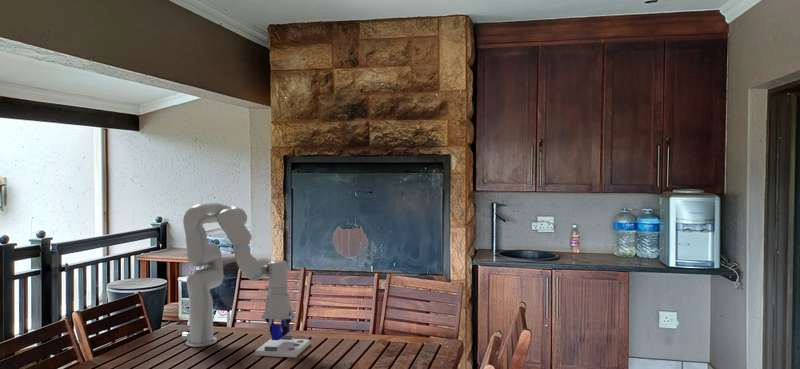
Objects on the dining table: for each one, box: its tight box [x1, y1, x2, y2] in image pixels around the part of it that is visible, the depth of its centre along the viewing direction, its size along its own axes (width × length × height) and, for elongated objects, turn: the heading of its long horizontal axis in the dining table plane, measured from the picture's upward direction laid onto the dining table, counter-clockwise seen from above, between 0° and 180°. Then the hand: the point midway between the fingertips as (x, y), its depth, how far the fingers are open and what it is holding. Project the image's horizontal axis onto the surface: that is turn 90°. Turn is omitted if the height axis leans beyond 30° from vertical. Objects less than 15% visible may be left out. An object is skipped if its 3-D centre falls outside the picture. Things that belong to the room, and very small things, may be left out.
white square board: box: [254, 334, 311, 358], centre depth 223 cm, size 17×17×4 cm
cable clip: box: [271, 317, 291, 340], centre depth 224 cm, size 12×4×6 cm, turn 170°
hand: (278, 334), depth 223 cm, fingers closed on cable clip, 4 cm apart
